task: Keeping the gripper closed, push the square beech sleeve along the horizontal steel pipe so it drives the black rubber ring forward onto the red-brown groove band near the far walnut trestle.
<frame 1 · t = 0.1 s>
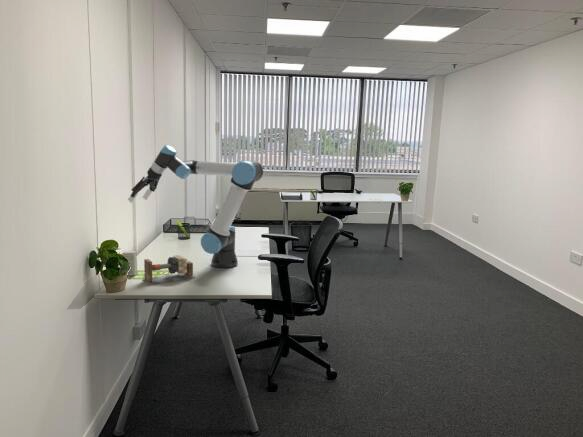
hand: (137, 199, 244), 36 cm above the table, tool tilted 35°, fingers open, 13 cm apart
sleeve: (180, 264, 223), point 7 cm above the table, slide at 0.0 cm
pipe stand: (169, 278, 221), on the table
skincare box: (130, 274, 226), on the table
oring: (171, 265, 220), point 7 cm above the table, slide at 0.0 cm
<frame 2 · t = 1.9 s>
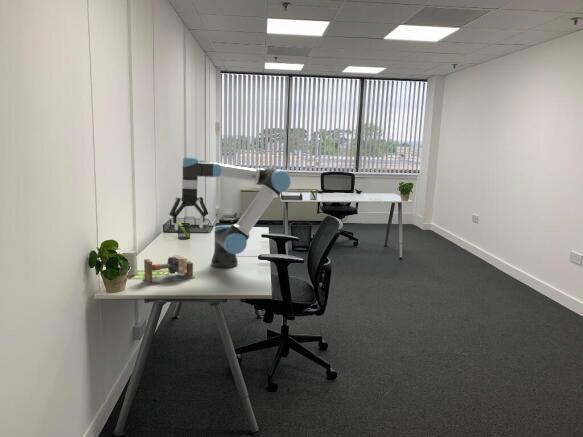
hand: (188, 228, 224), 25 cm above the table, tool pointing down, fingers open, 13 cm apart
nothing on the table moved.
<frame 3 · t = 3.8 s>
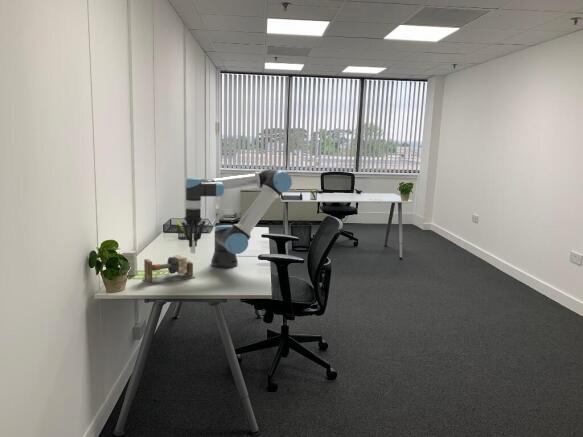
hand: (192, 252, 226), 12 cm above the table, tool pointing down, fingers closed
nothing on the table moved.
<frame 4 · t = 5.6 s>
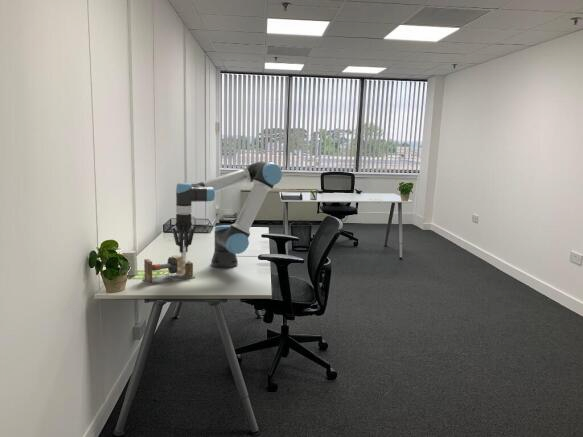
hand: (183, 258, 224), 10 cm above the table, tool pointing down, fingers closed
sleeve: (178, 264, 222), point 7 cm above the table, slide at 0.9 cm, touching gripper
everything else where it was.
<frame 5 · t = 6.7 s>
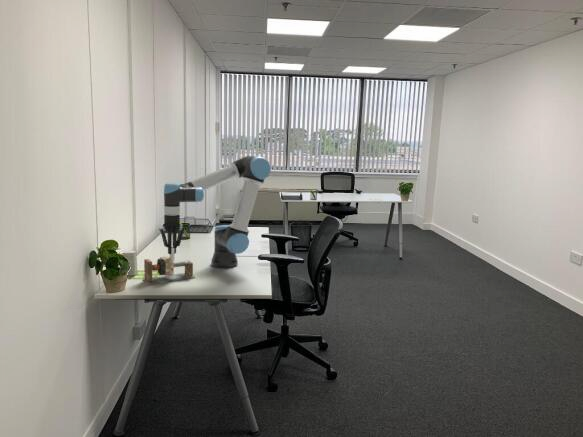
hand: (172, 259, 220), 10 cm above the table, tool pointing down, fingers closed
sleeve: (166, 266, 219), point 7 cm above the table, slide at 6.9 cm, touching gripper, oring
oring: (161, 266, 217), point 7 cm above the table, slide at 5.5 cm, touching sleeve
everything else where it was.
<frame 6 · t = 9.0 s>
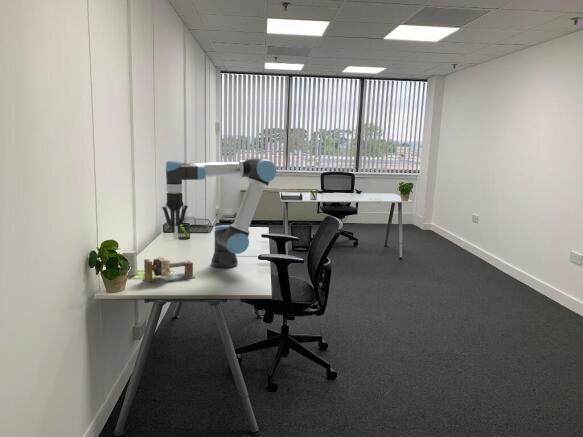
hand: (175, 238, 219), 21 cm above the table, tool pointing down, fingers closed
sleeve: (162, 266, 218), point 7 cm above the table, slide at 9.0 cm, touching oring
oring: (157, 267, 216), point 7 cm above the table, slide at 7.6 cm, touching sleeve
everything else where it was.
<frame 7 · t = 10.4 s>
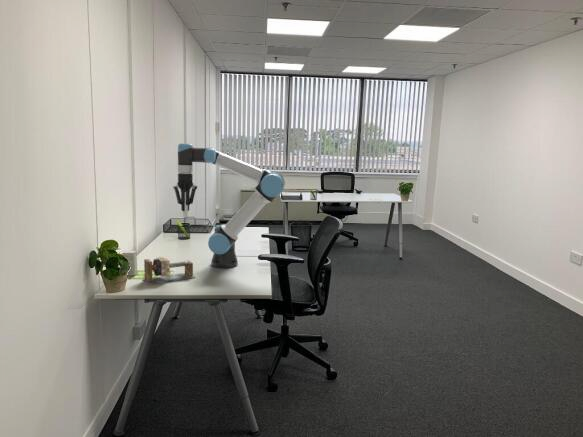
hand: (185, 216, 233), 29 cm above the table, tool pointing down, fingers closed
nothing on the table moved.
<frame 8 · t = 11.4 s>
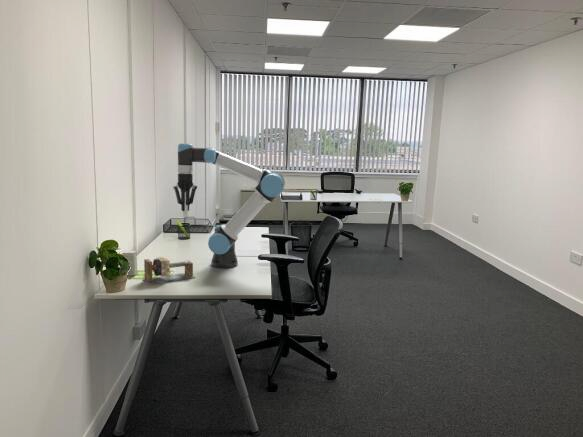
hand: (185, 216, 233), 29 cm above the table, tool pointing down, fingers closed
nothing on the table moved.
at the end: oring slide at 7.6 cm; sleeve slide at 9.0 cm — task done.
